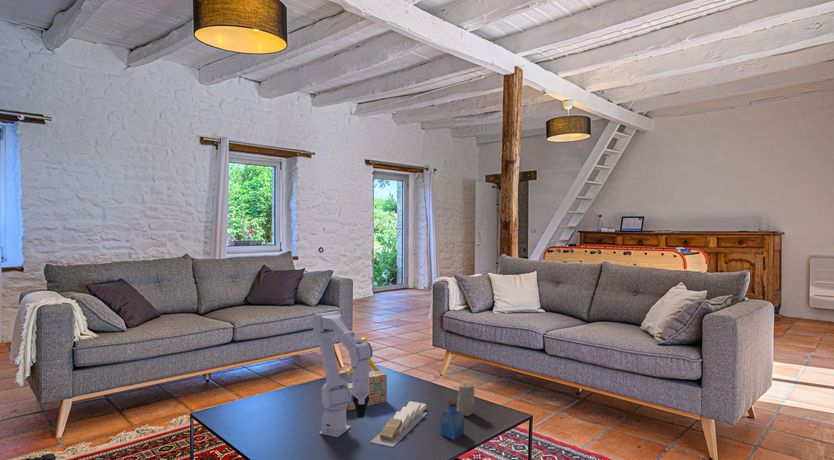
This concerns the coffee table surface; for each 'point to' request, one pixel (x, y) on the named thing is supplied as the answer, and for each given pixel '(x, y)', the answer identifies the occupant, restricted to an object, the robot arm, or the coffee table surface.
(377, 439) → the felt strip
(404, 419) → the domino
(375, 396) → the stack of blocks
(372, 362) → the figure statuette
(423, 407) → the domino
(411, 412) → the domino
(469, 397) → the carving
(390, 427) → the ochre tile
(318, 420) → the coffee table surface
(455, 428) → the perfume bottle
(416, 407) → the domino
